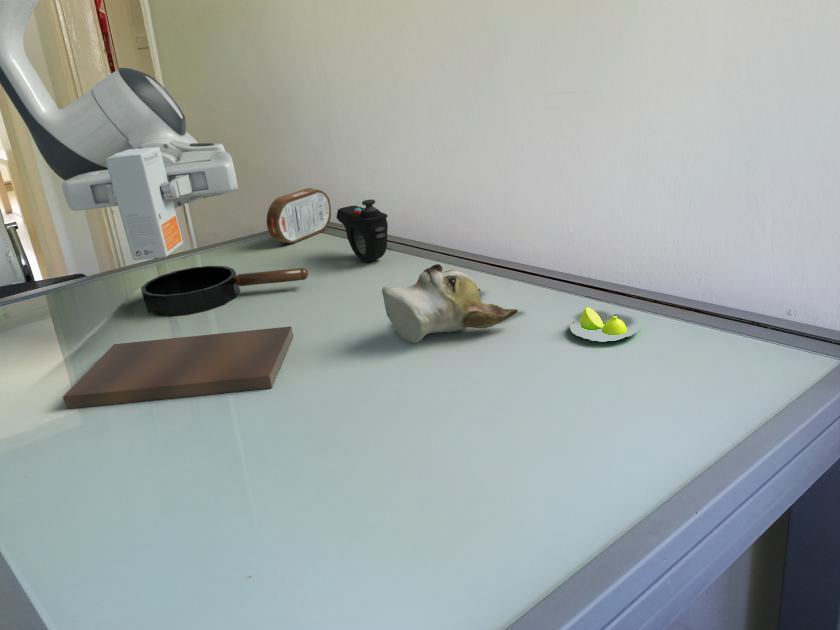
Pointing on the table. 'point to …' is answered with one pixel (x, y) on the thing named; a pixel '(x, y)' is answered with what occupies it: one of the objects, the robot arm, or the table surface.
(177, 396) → the cutting board
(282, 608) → the table surface
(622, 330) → the lemon
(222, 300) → the pan
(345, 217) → the controller
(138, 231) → the cosmetic box
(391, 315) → the ceramic sculpture
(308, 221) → the tin
